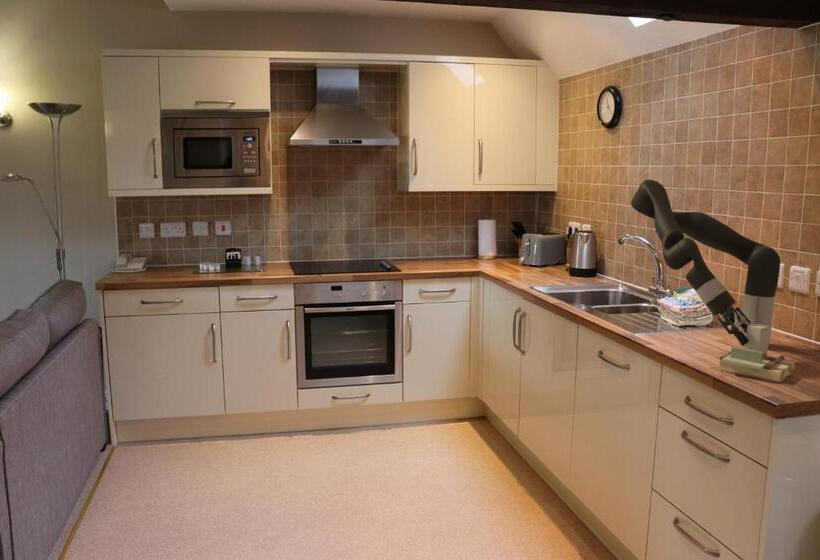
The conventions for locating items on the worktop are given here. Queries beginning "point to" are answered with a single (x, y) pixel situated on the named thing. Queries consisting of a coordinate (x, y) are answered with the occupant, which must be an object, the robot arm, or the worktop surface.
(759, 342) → the skincare box
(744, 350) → the cover
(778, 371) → the board
